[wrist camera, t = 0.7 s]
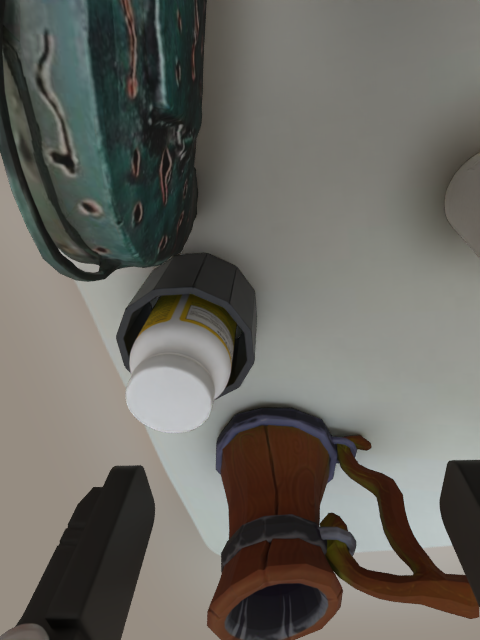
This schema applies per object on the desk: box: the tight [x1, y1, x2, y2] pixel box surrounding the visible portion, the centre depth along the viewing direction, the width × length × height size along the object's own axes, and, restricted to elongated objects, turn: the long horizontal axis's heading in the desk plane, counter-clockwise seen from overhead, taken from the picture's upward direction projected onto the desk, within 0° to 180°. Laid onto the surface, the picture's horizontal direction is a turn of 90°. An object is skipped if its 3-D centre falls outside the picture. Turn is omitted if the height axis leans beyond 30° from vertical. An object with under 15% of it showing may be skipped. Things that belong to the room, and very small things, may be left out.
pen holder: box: [116, 253, 257, 399], centre depth 27 cm, size 9×9×6 cm
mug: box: [207, 408, 479, 640], centre depth 30 cm, size 18×12×15 cm, turn 103°
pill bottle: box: [126, 294, 237, 433], centre depth 25 cm, size 6×6×11 cm
